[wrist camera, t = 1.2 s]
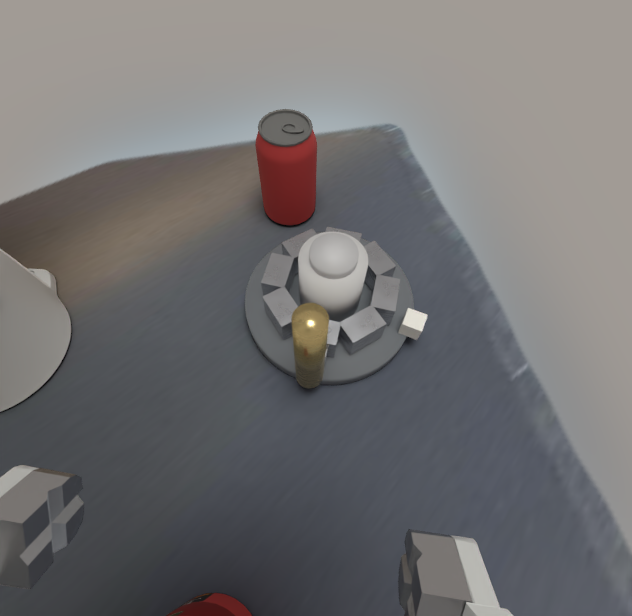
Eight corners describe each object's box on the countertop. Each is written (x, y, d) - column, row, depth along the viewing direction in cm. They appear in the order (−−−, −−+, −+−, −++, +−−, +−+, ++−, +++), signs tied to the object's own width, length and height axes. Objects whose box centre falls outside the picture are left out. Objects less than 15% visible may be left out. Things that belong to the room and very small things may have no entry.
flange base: (224, 362, 40) (200, 317, 31) (273, 230, 48) (266, 165, 40) (408, 406, 38) (438, 371, 29) (426, 260, 47) (453, 200, 38)
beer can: (307, 233, 48) (307, 152, 38) (257, 222, 49) (243, 140, 39) (320, 195, 51) (324, 111, 41) (273, 185, 52) (264, 100, 42)
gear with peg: (285, 235, 45) (279, 151, 35) (400, 258, 44) (428, 178, 34) (238, 371, 37) (211, 314, 27) (376, 404, 36) (404, 358, 26)
